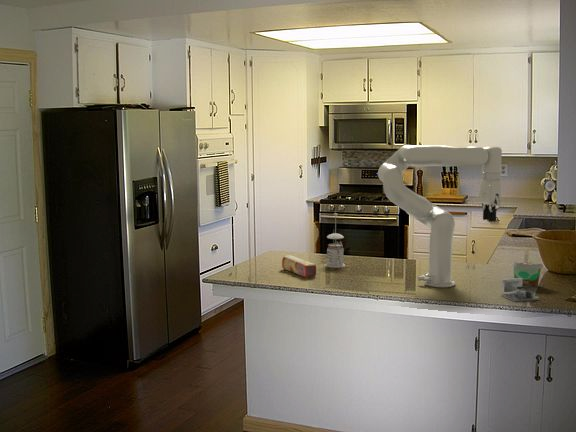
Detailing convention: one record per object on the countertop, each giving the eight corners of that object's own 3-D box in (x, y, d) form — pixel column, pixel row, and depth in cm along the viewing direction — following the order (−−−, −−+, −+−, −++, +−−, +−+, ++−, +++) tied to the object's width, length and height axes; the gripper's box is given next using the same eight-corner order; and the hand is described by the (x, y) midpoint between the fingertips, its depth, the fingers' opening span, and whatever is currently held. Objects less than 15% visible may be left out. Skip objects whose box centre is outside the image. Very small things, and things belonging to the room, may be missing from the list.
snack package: (317, 277, 313) (317, 262, 312) (304, 279, 310) (305, 264, 309) (293, 268, 332) (293, 254, 330) (280, 269, 328) (280, 255, 327)
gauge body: (514, 302, 273) (514, 293, 272) (501, 296, 281) (501, 288, 281) (539, 300, 276) (539, 291, 275) (525, 294, 284) (526, 286, 284)
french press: (340, 262, 343) (341, 211, 339) (350, 267, 332) (351, 214, 328) (321, 263, 340) (322, 212, 336) (330, 269, 329) (331, 215, 325)
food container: (509, 286, 296) (511, 263, 294) (510, 283, 302) (512, 260, 300) (541, 289, 292) (542, 265, 290) (541, 286, 297) (543, 262, 296)
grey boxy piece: (515, 296, 275) (515, 284, 274) (502, 291, 283) (502, 278, 283) (536, 295, 277) (537, 282, 277) (523, 289, 286) (523, 277, 285)
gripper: (472, 175, 302) (471, 217, 305) (494, 178, 286) (492, 223, 289) (488, 174, 304) (486, 217, 307) (510, 178, 288) (508, 223, 291)
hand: (489, 219), depth 298 cm, fingers open, 3 cm apart
